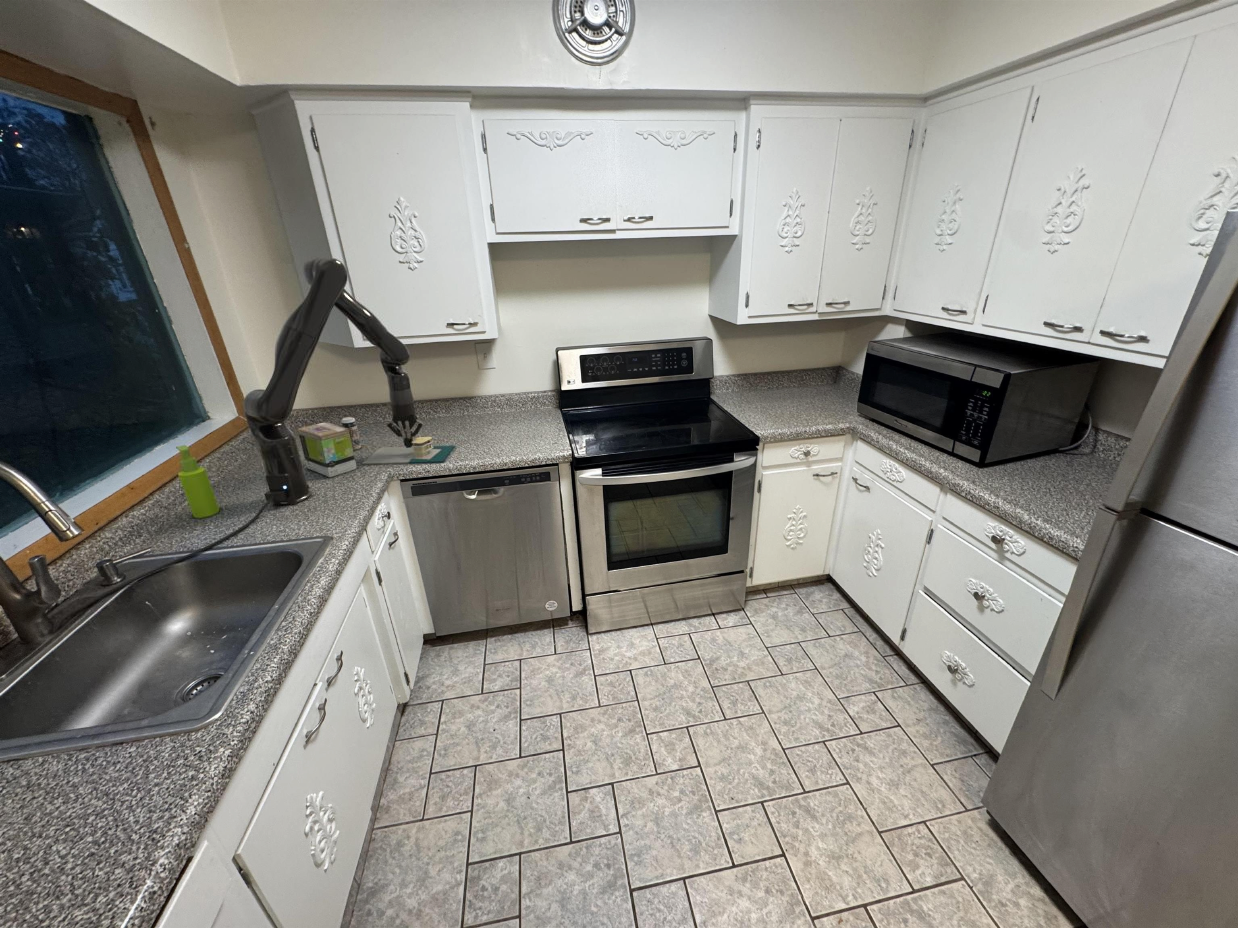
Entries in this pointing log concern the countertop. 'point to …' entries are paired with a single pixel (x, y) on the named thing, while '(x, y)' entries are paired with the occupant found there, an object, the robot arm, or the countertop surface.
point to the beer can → (352, 431)
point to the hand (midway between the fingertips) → (409, 447)
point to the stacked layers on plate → (423, 448)
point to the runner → (405, 456)
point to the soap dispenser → (196, 486)
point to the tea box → (327, 449)
